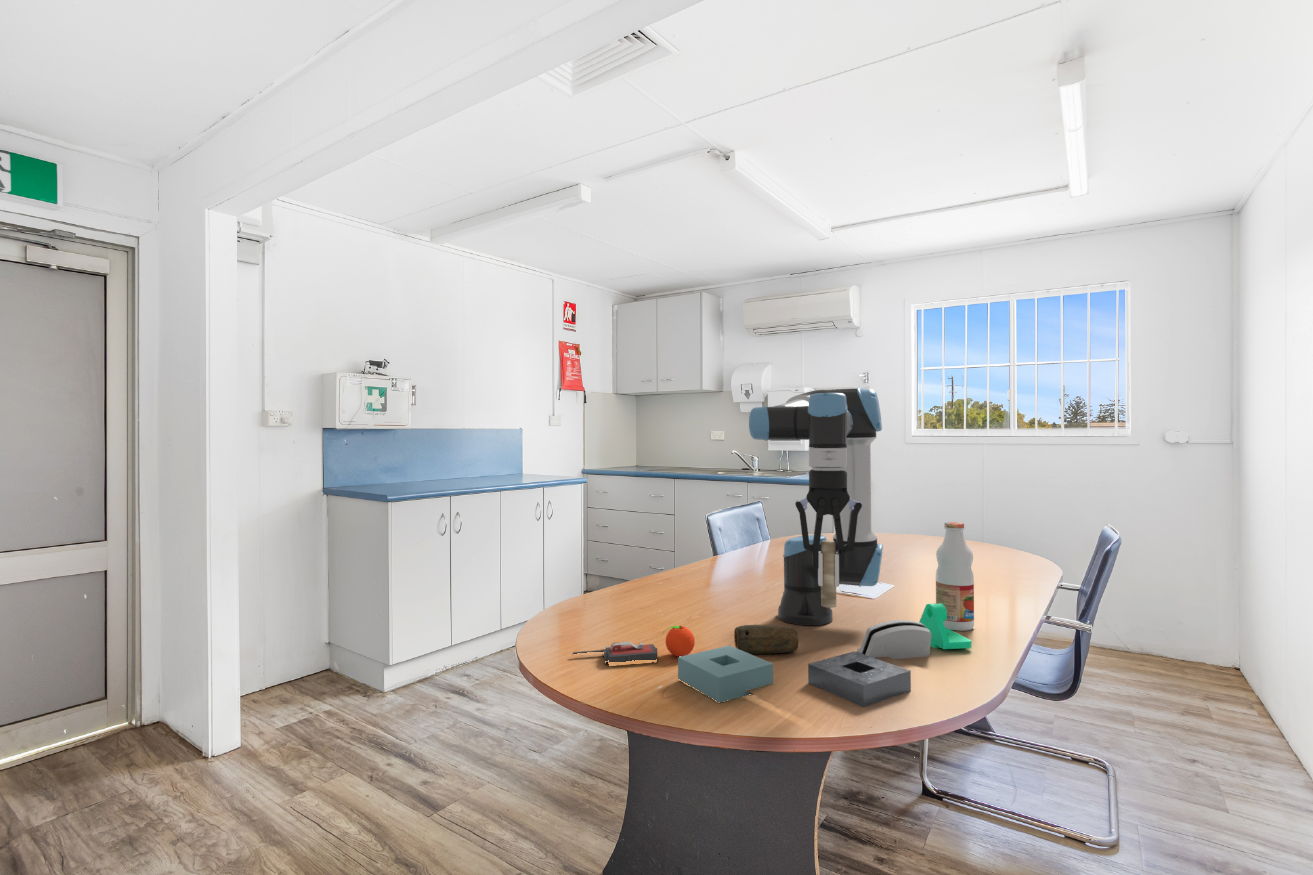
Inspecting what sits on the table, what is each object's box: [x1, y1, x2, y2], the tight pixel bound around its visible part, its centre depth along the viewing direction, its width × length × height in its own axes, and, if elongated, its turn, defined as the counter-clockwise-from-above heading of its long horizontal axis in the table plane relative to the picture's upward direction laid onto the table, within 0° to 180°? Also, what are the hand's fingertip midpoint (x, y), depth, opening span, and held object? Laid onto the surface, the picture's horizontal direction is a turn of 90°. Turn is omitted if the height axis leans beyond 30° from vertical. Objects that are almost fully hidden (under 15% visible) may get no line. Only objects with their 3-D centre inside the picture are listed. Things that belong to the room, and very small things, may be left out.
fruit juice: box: [935, 521, 975, 632], centre depth 175 cm, size 9×9×28 cm
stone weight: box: [733, 624, 800, 655], centre depth 154 cm, size 15×7×7 cm, turn 98°
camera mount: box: [918, 603, 972, 650], centre depth 160 cm, size 12×8×10 cm, turn 7°
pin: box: [821, 540, 837, 609], centre depth 131 cm, size 3×3×13 cm
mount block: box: [807, 650, 912, 708], centre depth 130 cm, size 14×14×5 cm
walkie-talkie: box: [572, 641, 658, 662], centre depth 150 cm, size 9×4×20 cm
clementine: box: [662, 625, 696, 657], centre depth 152 cm, size 8×7×7 cm
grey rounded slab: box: [856, 619, 932, 660], centre depth 150 cm, size 17×5×10 cm, turn 104°
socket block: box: [677, 645, 774, 703], centre depth 134 cm, size 14×14×5 cm
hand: (828, 584), depth 131 cm, fingers closed on pin, 2 cm apart
